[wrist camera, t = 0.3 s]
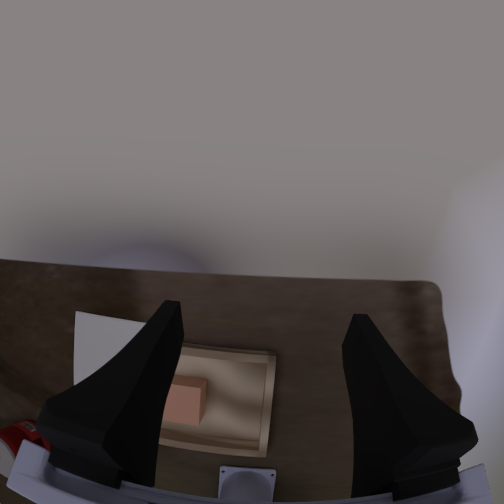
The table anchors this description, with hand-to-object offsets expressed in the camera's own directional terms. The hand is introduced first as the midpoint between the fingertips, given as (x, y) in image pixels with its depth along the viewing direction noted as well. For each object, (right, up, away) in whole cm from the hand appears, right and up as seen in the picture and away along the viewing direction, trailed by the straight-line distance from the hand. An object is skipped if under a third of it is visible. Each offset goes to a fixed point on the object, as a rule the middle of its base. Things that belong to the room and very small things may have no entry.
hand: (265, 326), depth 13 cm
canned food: (-38, -30, +25) cm, 54 cm away
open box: (-6, -16, +26) cm, 32 cm away
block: (-9, -16, +26) cm, 32 cm away
